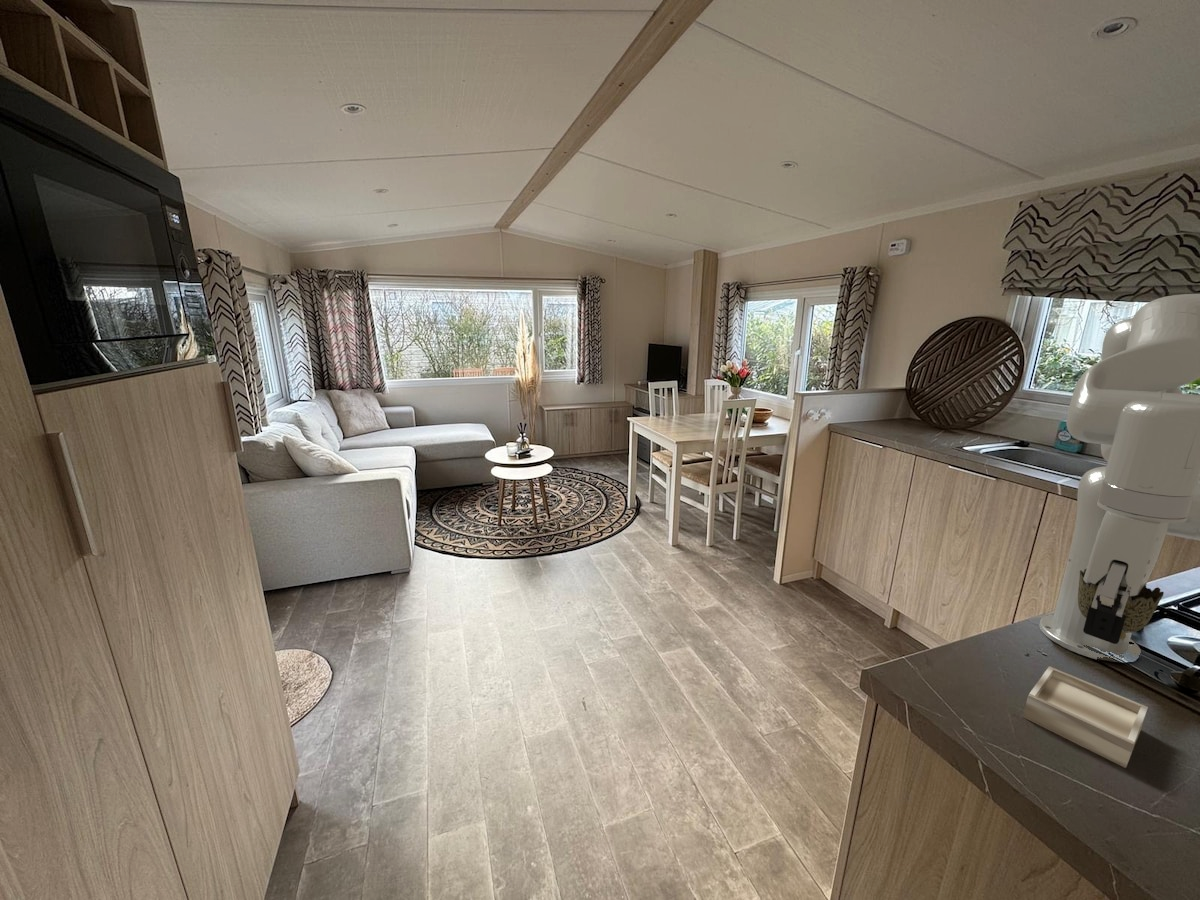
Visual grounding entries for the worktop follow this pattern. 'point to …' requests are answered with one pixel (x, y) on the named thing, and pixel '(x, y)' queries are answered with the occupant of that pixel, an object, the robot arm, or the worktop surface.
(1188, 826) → the worktop surface
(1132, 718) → the birch tray
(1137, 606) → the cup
